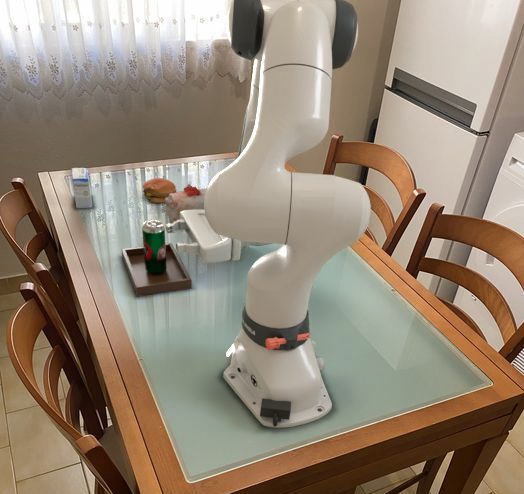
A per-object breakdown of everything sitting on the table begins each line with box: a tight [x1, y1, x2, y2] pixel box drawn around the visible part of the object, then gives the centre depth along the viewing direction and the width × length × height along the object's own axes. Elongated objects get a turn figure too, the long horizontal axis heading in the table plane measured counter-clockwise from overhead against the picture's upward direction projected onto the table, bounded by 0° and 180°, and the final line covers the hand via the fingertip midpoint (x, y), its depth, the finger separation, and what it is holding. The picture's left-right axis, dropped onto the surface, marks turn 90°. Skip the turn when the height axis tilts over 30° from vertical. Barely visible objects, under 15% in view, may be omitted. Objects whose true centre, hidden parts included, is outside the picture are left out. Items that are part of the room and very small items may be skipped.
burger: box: [142, 177, 177, 204], centre depth 158 cm, size 10×9×5 cm
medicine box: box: [70, 167, 93, 209], centre depth 150 cm, size 8×4×9 cm, turn 17°
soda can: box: [141, 219, 167, 274], centre depth 123 cm, size 5×5×12 cm
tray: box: [121, 242, 192, 297], centre depth 127 cm, size 18×13×2 cm
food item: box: [165, 183, 208, 223], centre depth 146 cm, size 14×8×10 cm, turn 117°
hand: (171, 238), depth 123 cm, fingers open, 8 cm apart
